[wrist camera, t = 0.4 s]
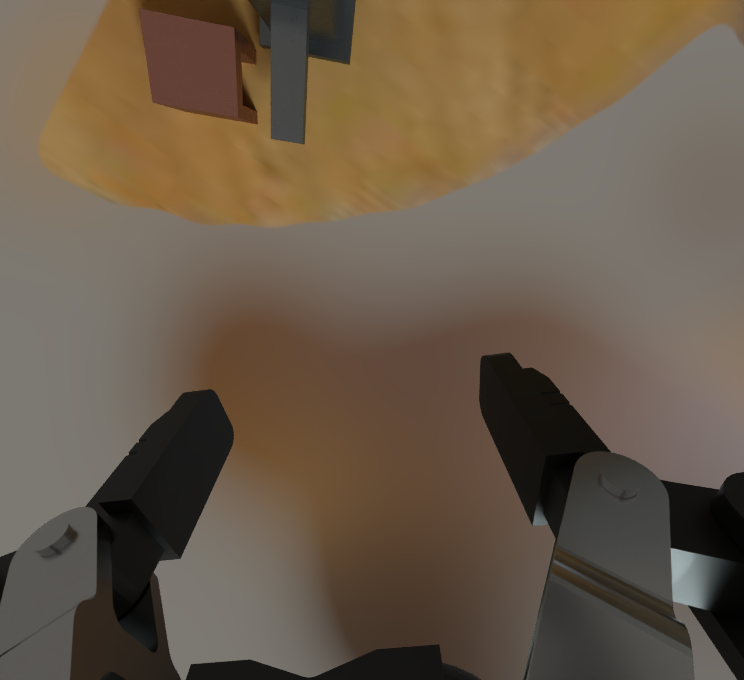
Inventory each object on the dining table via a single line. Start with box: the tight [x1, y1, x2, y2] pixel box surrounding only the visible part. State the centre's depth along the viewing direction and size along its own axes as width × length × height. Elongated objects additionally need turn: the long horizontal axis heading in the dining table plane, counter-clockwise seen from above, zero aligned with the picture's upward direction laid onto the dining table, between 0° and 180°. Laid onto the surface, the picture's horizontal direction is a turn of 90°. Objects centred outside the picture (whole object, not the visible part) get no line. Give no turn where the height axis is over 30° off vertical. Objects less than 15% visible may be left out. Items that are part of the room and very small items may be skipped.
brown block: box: [139, 8, 258, 124], centre depth 24 cm, size 6×5×5 cm
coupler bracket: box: [249, 0, 356, 144], centre depth 22 cm, size 11×7×10 cm, turn 171°
